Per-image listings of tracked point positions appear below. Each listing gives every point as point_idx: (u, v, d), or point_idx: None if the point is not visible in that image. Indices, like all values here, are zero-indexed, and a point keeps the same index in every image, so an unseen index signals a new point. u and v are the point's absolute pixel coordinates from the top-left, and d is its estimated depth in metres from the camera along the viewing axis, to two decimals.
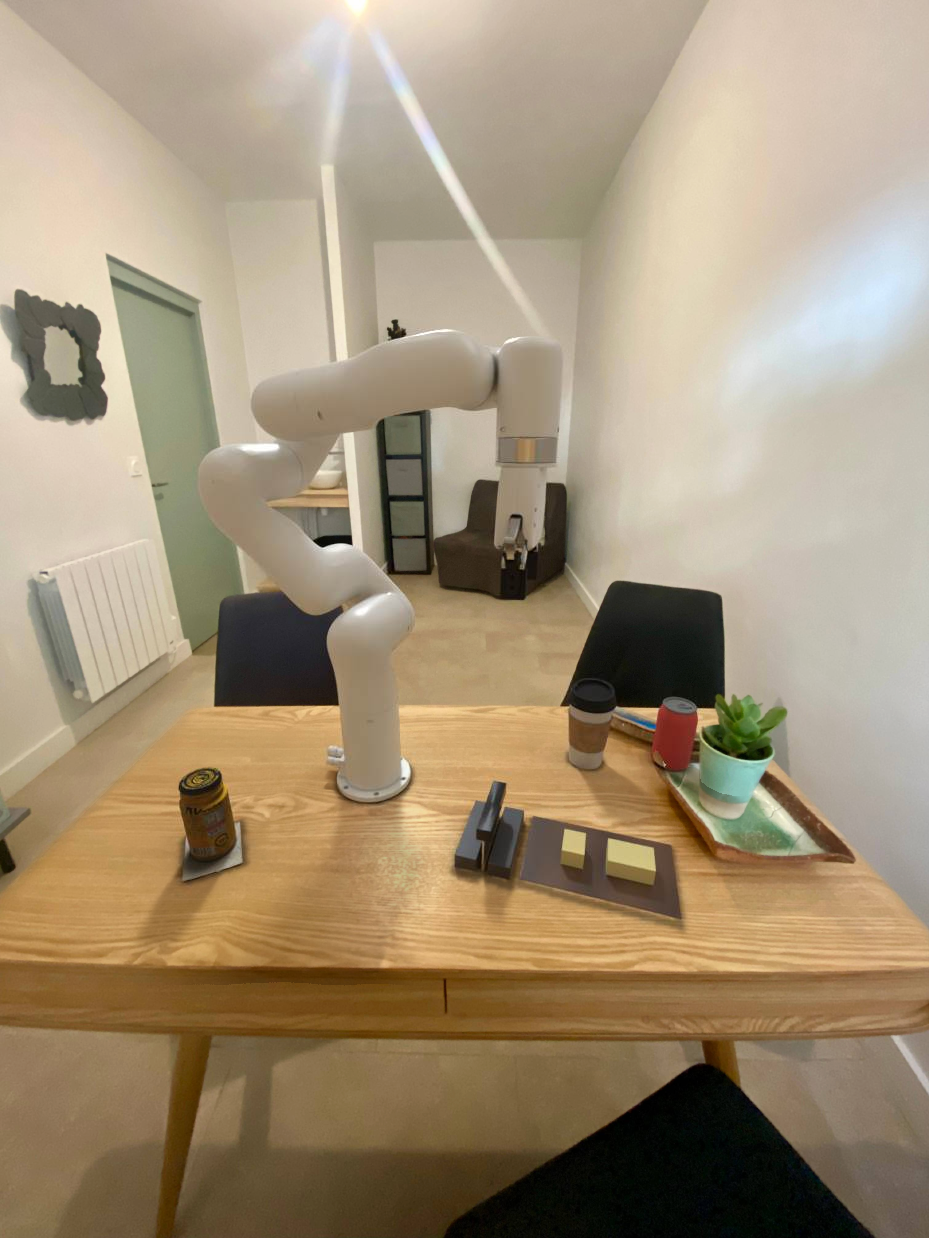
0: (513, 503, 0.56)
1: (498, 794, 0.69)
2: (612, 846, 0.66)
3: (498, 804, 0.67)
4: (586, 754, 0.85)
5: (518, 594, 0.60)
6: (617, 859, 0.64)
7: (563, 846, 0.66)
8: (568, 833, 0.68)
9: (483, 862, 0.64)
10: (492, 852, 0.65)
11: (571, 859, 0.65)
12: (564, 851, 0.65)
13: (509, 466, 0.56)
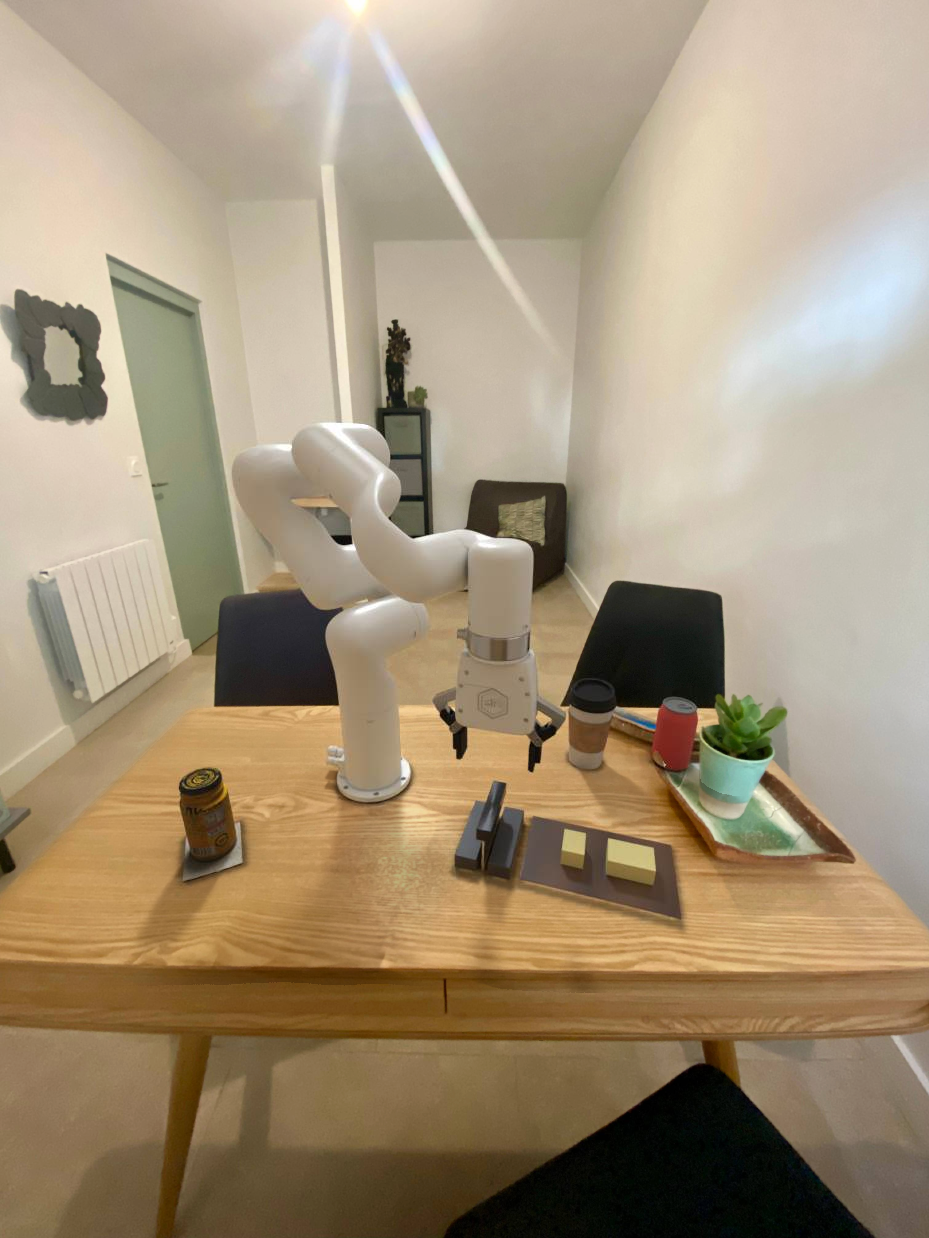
0: (537, 687, 0.59)
1: (498, 794, 0.69)
2: (612, 846, 0.66)
3: (498, 804, 0.67)
4: (586, 754, 0.85)
5: None
6: (617, 859, 0.64)
7: (563, 846, 0.66)
8: (568, 833, 0.68)
9: (483, 862, 0.64)
10: (492, 852, 0.65)
11: (571, 859, 0.65)
12: (564, 851, 0.65)
13: (525, 658, 0.57)
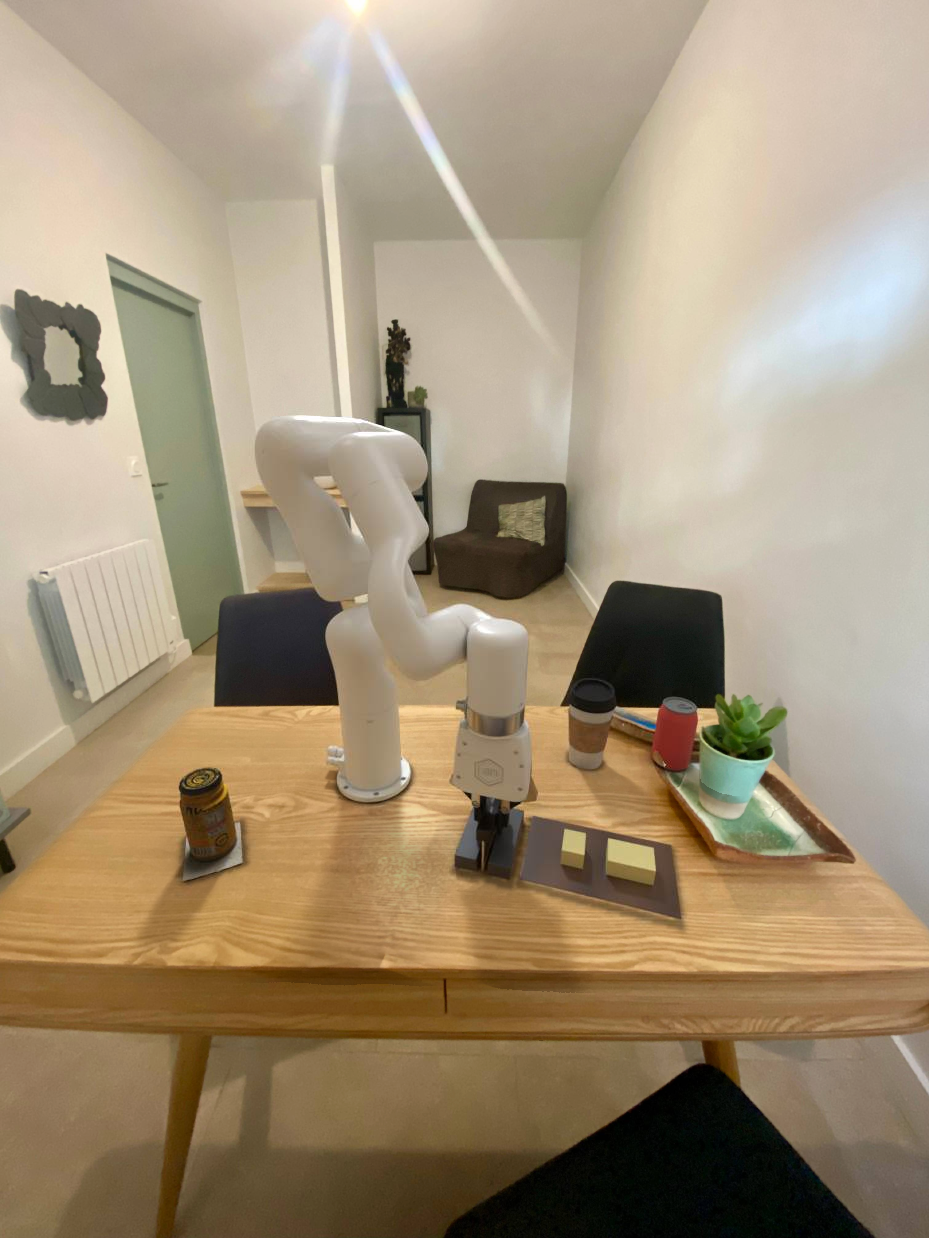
0: (530, 757, 0.62)
1: None
2: (612, 846, 0.66)
3: (498, 804, 0.67)
4: (586, 754, 0.85)
5: None
6: (617, 859, 0.64)
7: (563, 846, 0.66)
8: (568, 833, 0.68)
9: (483, 862, 0.64)
10: (492, 852, 0.65)
11: (571, 859, 0.65)
12: (564, 851, 0.65)
13: (520, 732, 0.60)
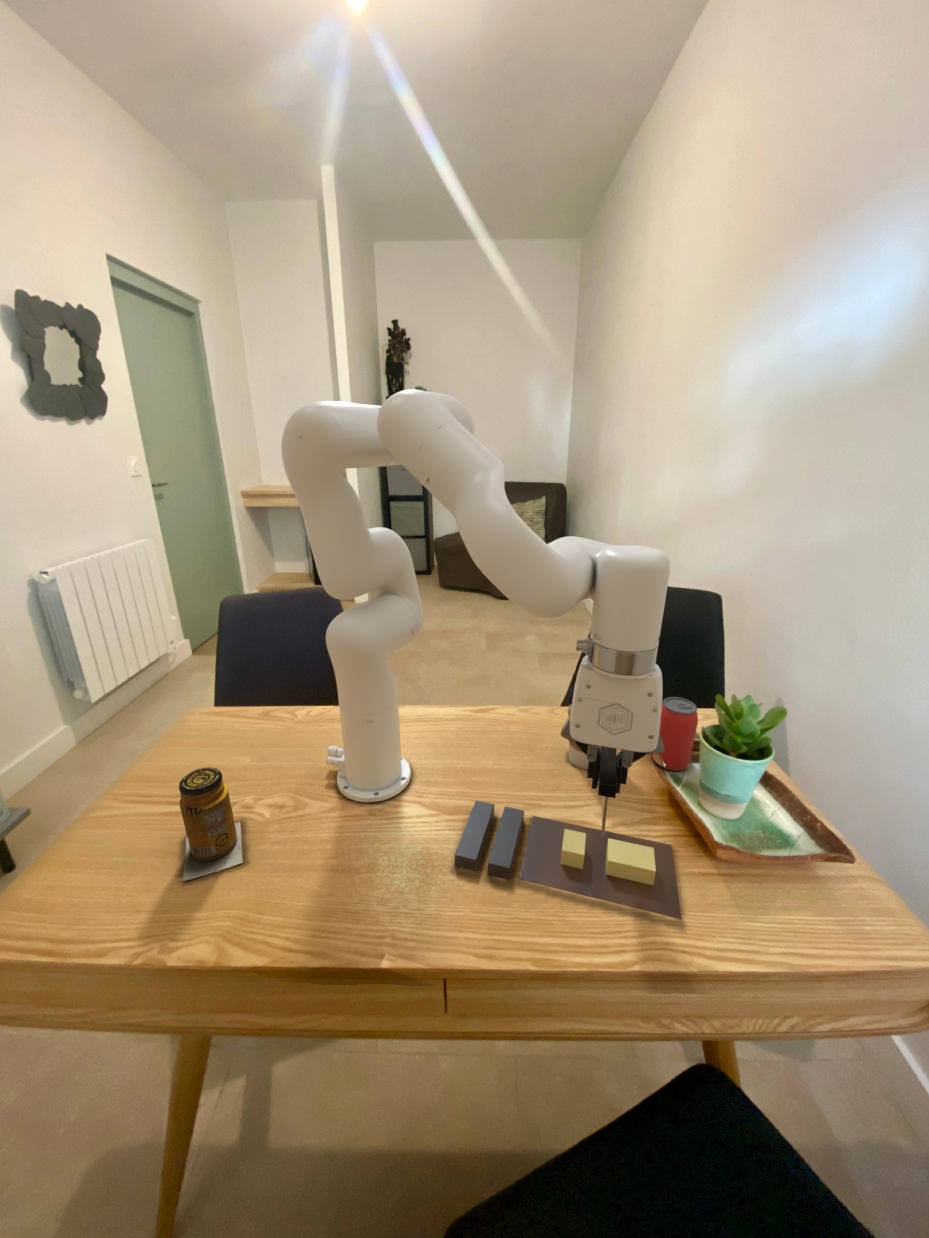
0: None
1: (611, 749, 0.62)
2: (612, 846, 0.66)
3: (615, 759, 0.61)
4: None
5: None
6: (617, 859, 0.64)
7: (563, 846, 0.66)
8: (568, 833, 0.68)
9: None
10: (492, 852, 0.65)
11: (571, 859, 0.65)
12: (564, 851, 0.65)
13: (653, 672, 0.54)
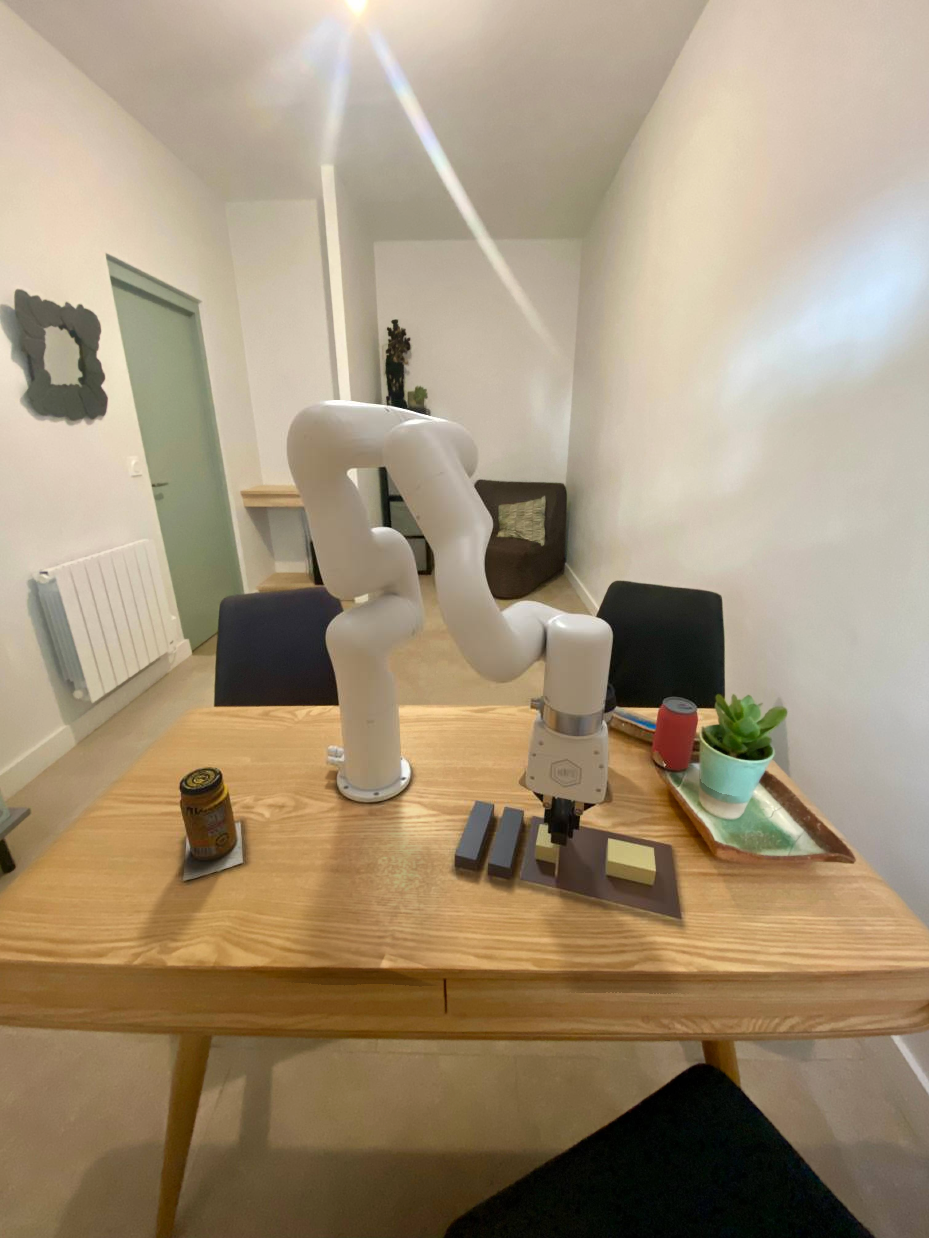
0: None
1: None
2: (612, 846, 0.66)
3: (569, 806, 0.65)
4: None
5: None
6: (617, 859, 0.64)
7: (537, 841, 0.66)
8: (543, 829, 0.69)
9: (557, 866, 0.62)
10: (492, 852, 0.65)
11: (545, 854, 0.66)
12: (538, 846, 0.66)
13: (600, 732, 0.58)
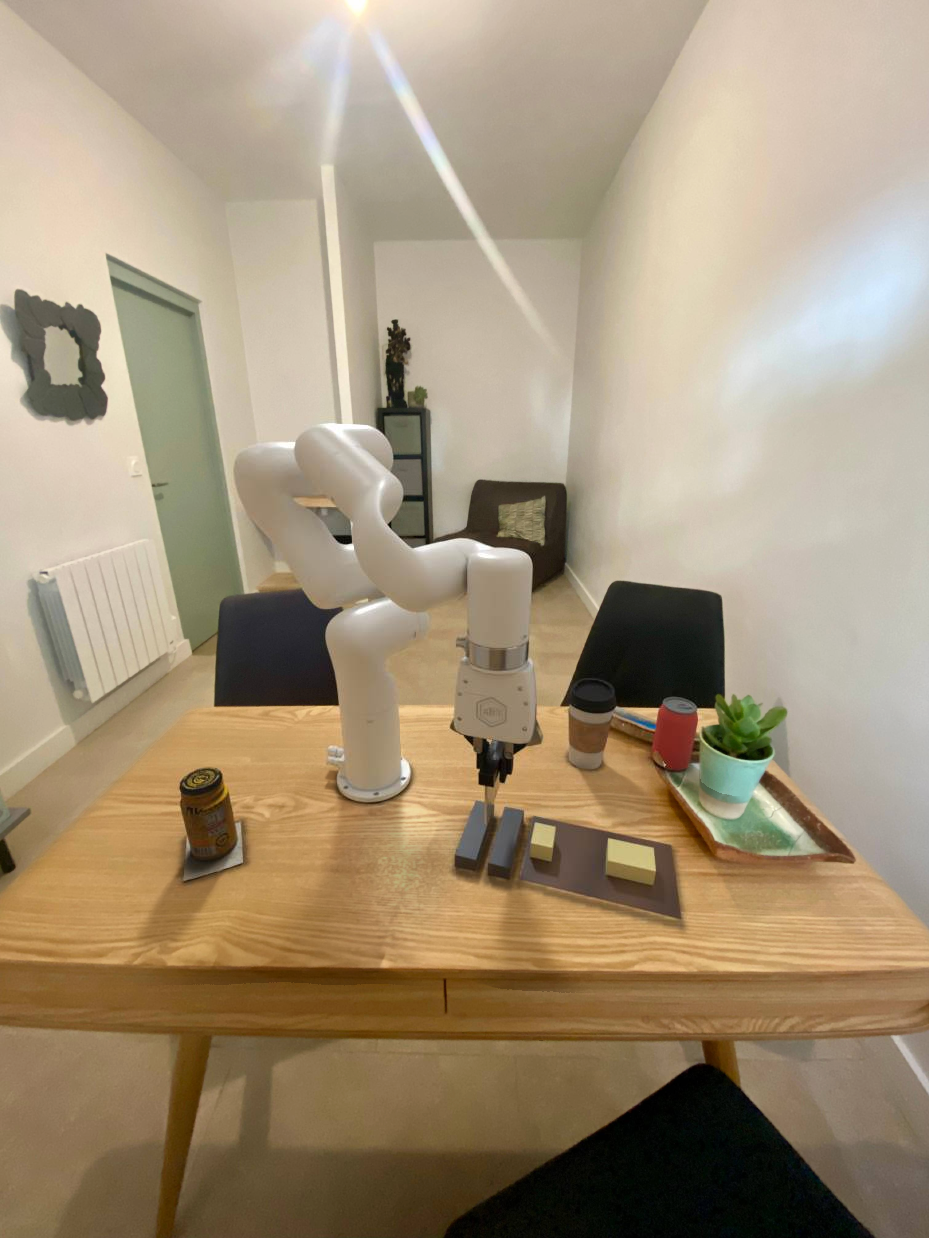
0: (535, 696, 0.59)
1: (501, 742, 0.66)
2: (612, 846, 0.66)
3: (501, 751, 0.64)
4: (586, 754, 0.85)
5: None
6: (617, 859, 0.64)
7: (532, 839, 0.67)
8: (538, 827, 0.69)
9: (486, 810, 0.61)
10: (492, 852, 0.65)
11: (540, 852, 0.66)
12: (533, 844, 0.66)
13: (524, 668, 0.57)
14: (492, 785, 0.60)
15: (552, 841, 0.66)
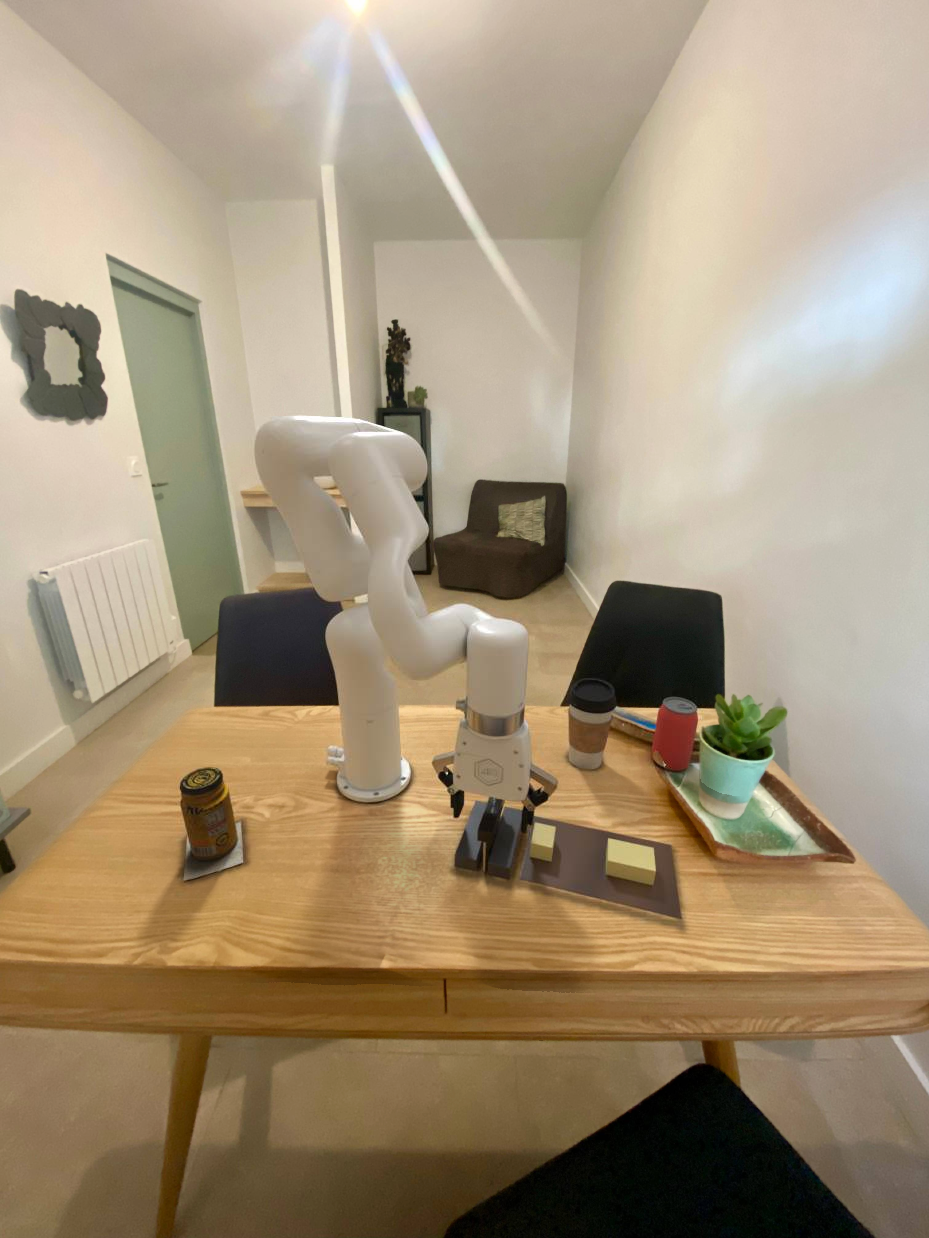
0: (530, 757, 0.62)
1: None
2: (612, 846, 0.66)
3: (499, 805, 0.67)
4: (586, 754, 0.85)
5: None
6: (617, 859, 0.64)
7: (532, 839, 0.67)
8: (538, 827, 0.69)
9: (484, 863, 0.64)
10: (492, 852, 0.65)
11: (540, 852, 0.66)
12: (533, 844, 0.66)
13: (520, 732, 0.60)
14: (490, 841, 0.63)
15: (552, 841, 0.66)
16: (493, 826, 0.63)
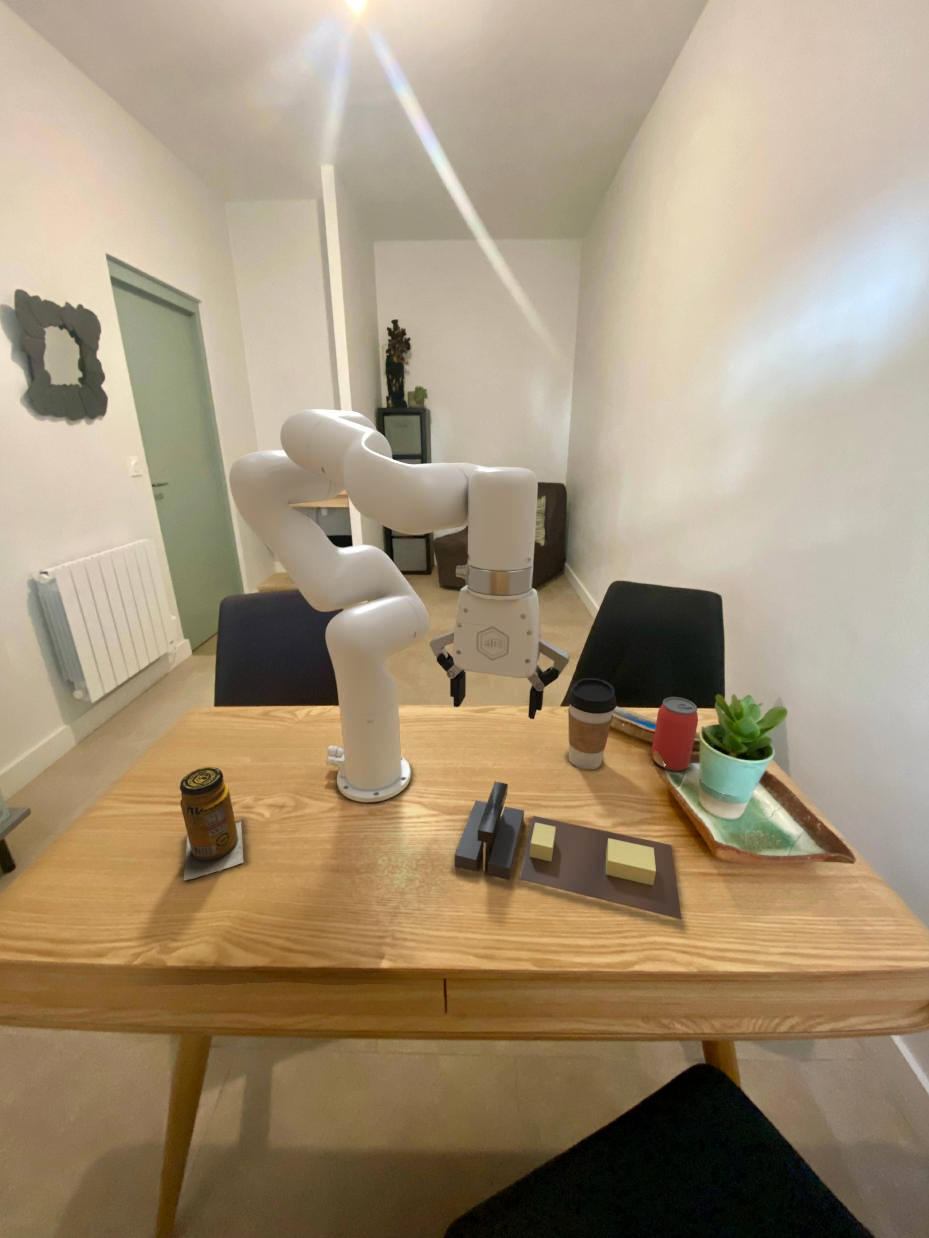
0: (539, 627, 0.56)
1: (499, 795, 0.69)
2: (612, 846, 0.66)
3: (499, 805, 0.67)
4: (586, 754, 0.85)
5: None
6: (617, 859, 0.64)
7: (532, 839, 0.67)
8: (538, 827, 0.69)
9: (484, 863, 0.64)
10: (492, 852, 0.65)
11: (540, 852, 0.66)
12: (533, 844, 0.66)
13: (527, 595, 0.54)
14: (490, 841, 0.63)
15: (552, 841, 0.66)
16: (493, 826, 0.63)
